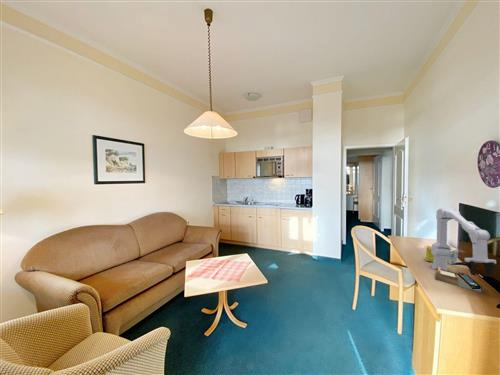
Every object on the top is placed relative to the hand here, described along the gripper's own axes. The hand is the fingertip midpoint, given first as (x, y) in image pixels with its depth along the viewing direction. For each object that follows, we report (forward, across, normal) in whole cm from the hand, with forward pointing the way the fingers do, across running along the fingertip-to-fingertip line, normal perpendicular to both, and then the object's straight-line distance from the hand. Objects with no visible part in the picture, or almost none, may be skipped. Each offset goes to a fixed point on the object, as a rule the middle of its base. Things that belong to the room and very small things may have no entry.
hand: (480, 275), depth 118 cm
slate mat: (+9, +1, +9) cm, 13 cm away
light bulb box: (+4, +17, +45) cm, 48 cm away
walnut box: (+8, -7, +15) cm, 19 cm away
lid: (+5, -7, +15) cm, 17 cm away
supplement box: (+4, +4, +44) cm, 44 cm away
